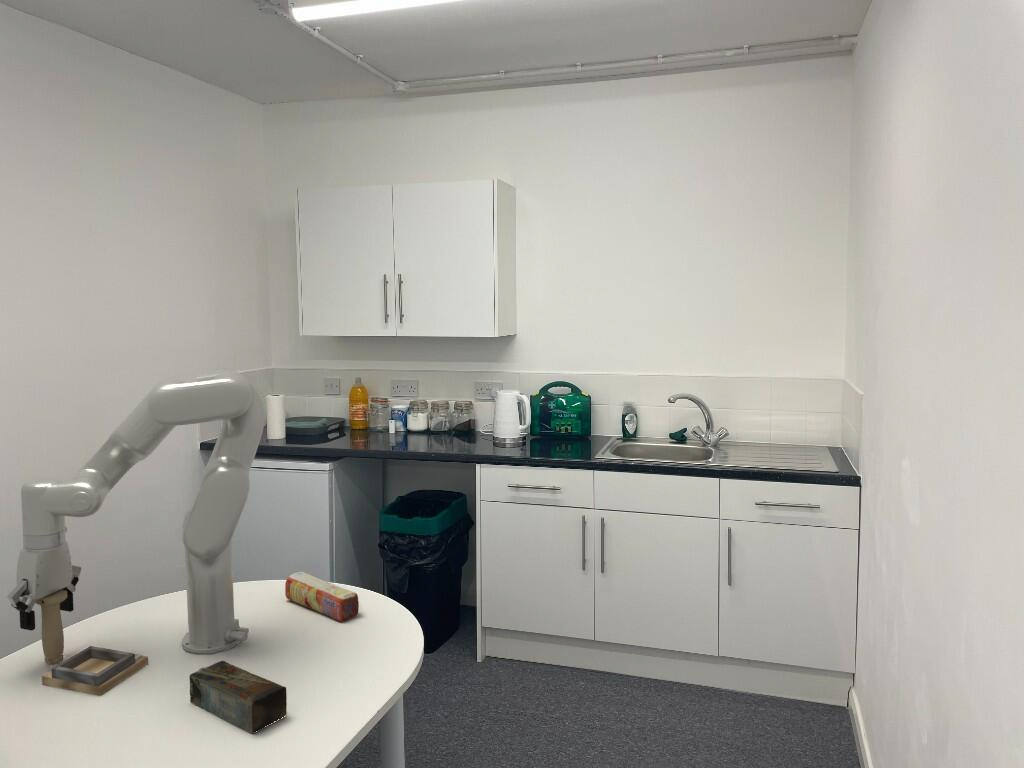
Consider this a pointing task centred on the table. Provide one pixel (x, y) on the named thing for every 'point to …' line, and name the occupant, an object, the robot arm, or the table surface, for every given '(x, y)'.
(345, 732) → the table surface
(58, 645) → the handle
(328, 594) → the snack package
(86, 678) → the wooden tray
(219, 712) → the beverage carton
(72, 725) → the table surface
